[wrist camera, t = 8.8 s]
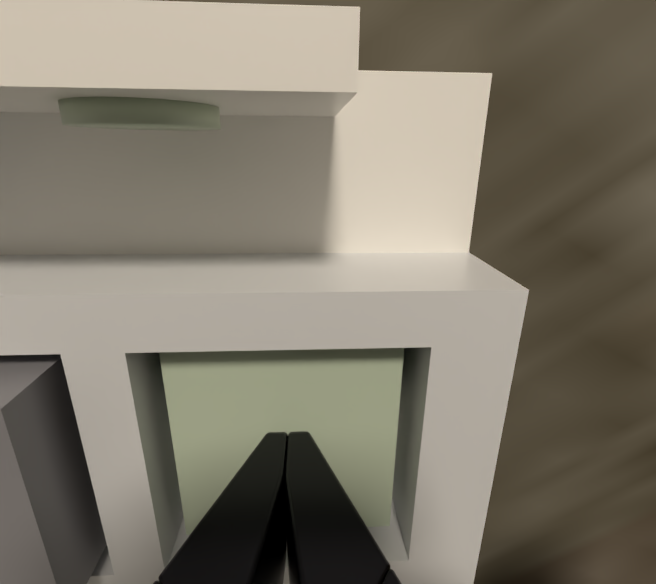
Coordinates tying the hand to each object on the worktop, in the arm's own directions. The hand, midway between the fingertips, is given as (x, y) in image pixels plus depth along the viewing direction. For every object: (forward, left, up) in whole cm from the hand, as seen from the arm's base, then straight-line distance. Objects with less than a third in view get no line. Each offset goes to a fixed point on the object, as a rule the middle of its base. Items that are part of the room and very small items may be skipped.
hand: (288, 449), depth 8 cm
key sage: (0, 0, -2) cm, 2 cm away
